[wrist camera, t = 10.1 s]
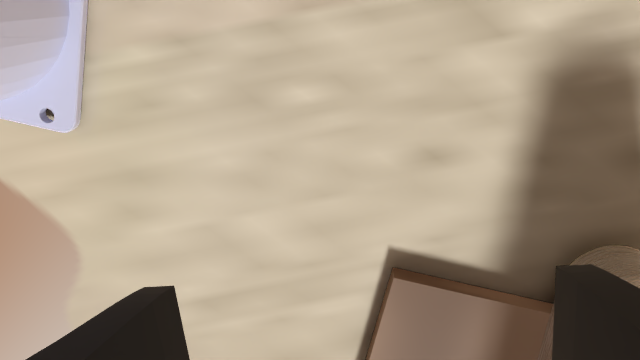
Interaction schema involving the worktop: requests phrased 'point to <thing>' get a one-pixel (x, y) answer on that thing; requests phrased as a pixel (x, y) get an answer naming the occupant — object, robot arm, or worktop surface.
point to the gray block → (613, 259)
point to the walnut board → (455, 322)
